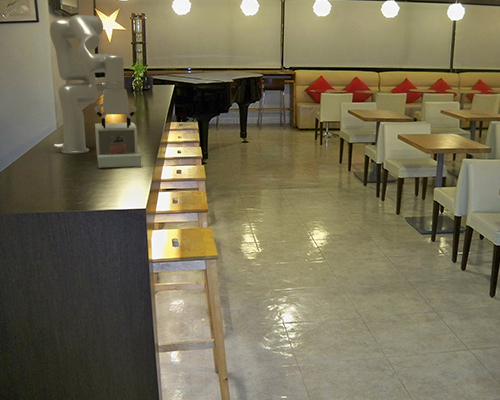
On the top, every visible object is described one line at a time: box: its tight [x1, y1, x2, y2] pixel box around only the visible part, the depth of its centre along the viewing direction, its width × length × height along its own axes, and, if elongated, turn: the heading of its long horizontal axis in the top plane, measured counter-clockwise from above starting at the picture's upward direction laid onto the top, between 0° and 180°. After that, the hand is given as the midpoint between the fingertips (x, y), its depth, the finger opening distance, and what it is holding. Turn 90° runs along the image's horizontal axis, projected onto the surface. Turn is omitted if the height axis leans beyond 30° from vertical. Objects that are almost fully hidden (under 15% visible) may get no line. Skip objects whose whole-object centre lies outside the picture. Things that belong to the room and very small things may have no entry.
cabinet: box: [94, 122, 139, 161], centre depth 264 cm, size 18×17×14 cm
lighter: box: [109, 136, 126, 155], centre depth 251 cm, size 8×3×10 cm, turn 142°
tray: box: [97, 152, 142, 169], centre depth 251 cm, size 20×17×4 cm
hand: (116, 127), depth 249 cm, fingers open, 9 cm apart
